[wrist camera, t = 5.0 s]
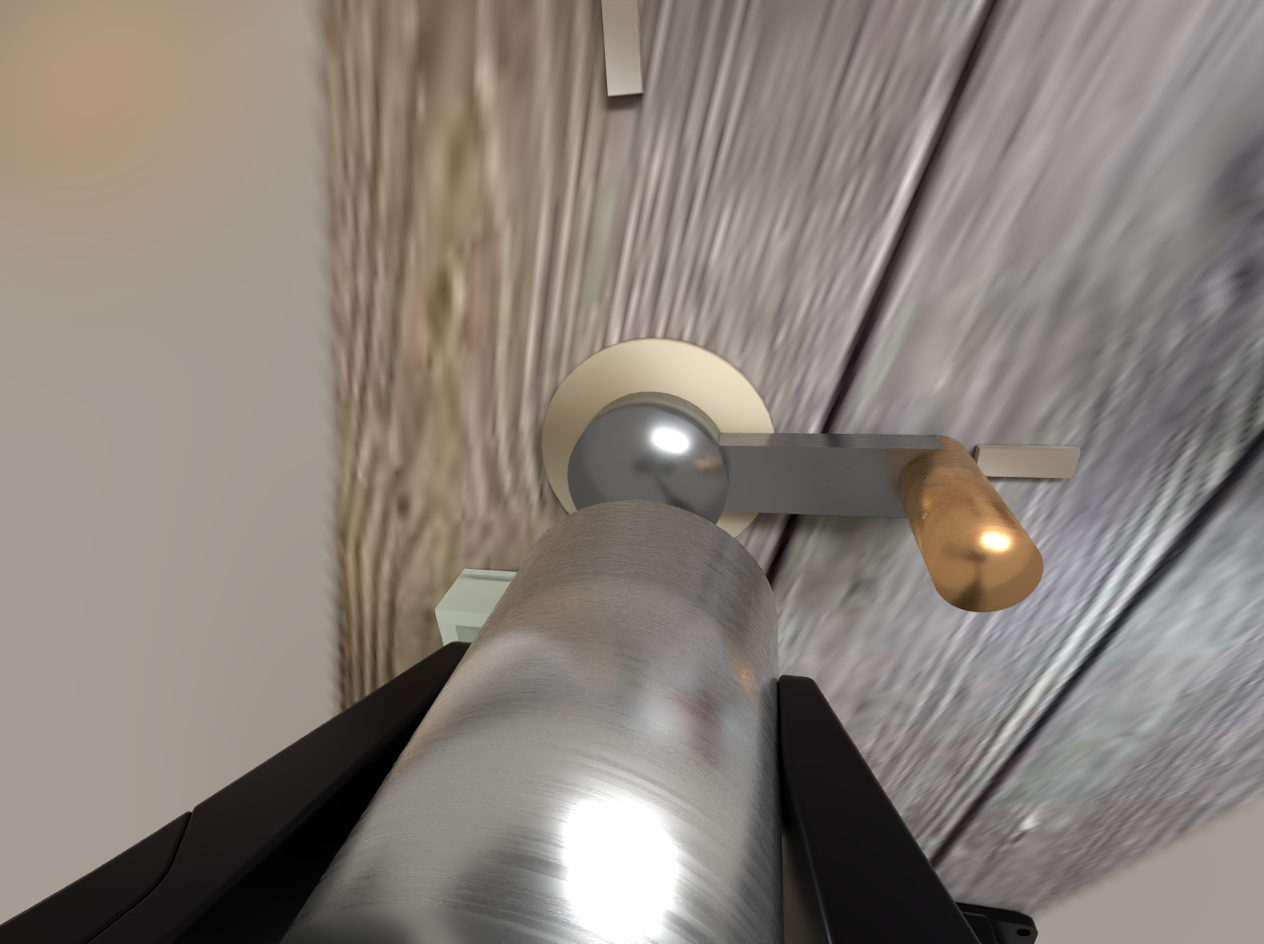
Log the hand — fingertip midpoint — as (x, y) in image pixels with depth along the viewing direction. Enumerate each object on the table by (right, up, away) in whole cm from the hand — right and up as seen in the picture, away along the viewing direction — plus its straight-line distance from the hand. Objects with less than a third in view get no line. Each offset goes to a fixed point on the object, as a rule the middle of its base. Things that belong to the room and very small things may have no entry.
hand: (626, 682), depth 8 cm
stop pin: (0, +1, +1) cm, 1 cm away
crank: (+4, +3, +9) cm, 10 cm away
